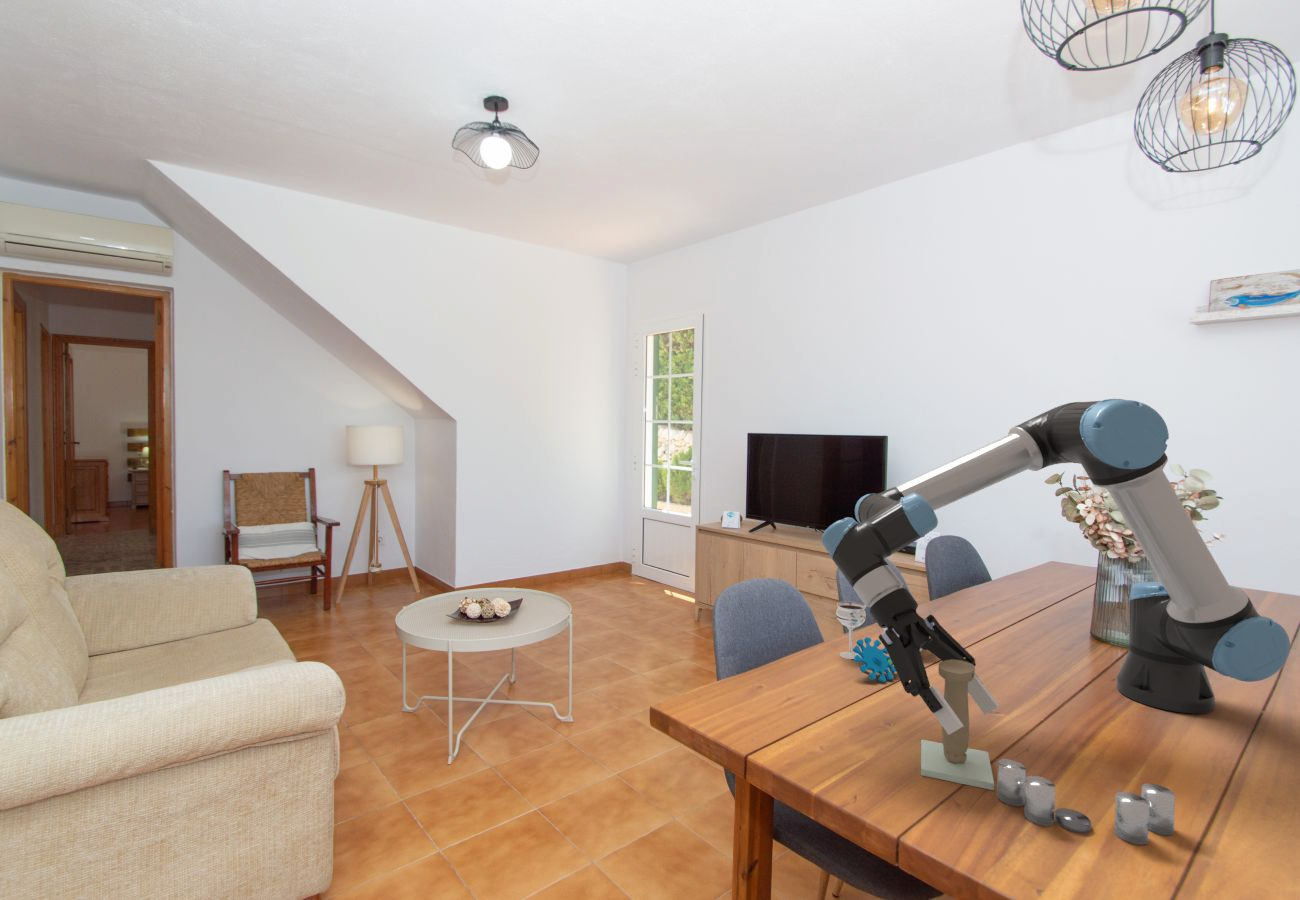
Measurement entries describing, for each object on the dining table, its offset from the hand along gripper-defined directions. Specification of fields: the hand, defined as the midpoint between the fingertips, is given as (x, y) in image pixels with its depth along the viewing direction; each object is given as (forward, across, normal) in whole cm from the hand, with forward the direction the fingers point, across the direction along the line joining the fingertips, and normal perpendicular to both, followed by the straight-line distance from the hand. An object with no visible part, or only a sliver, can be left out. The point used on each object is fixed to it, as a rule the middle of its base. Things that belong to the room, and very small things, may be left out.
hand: (974, 720), depth 96 cm
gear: (-16, -22, -29) cm, 39 cm away
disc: (+16, +1, +4) cm, 17 cm away
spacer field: (+16, -1, +4) cm, 17 cm away
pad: (+4, 0, -8) cm, 9 cm away
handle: (+3, 0, -8) cm, 8 cm away
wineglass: (-24, -27, -36) cm, 51 cm away
